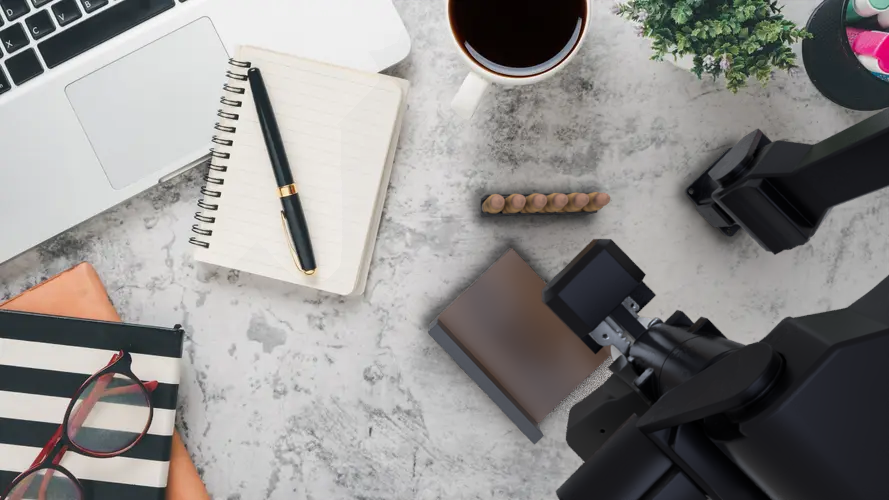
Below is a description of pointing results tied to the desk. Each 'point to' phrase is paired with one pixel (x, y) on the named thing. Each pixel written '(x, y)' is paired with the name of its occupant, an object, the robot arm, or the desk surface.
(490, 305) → the walnut board
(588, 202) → the ammunition clip
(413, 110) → the desk surface
